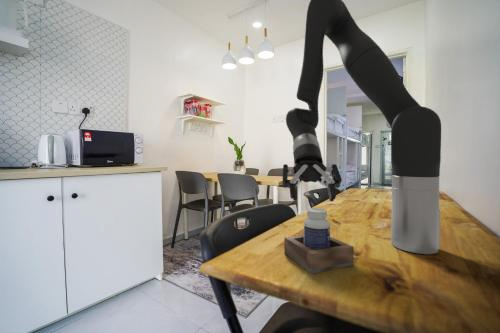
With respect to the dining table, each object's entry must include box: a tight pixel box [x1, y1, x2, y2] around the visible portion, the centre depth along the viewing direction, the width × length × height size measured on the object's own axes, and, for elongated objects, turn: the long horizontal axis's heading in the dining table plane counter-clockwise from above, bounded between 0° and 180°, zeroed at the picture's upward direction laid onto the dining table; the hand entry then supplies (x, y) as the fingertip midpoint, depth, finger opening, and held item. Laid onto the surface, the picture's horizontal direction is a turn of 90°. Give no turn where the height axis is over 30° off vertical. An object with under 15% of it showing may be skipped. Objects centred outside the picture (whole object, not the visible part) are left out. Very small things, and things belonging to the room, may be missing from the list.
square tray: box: [283, 234, 355, 274], centre depth 48 cm, size 10×10×4 cm
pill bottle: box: [303, 207, 331, 250], centre depth 48 cm, size 5×5×10 cm
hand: (313, 199), depth 53 cm, fingers open, 8 cm apart
